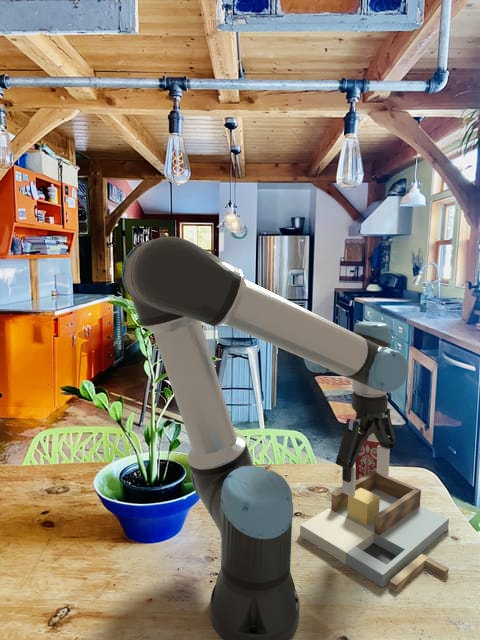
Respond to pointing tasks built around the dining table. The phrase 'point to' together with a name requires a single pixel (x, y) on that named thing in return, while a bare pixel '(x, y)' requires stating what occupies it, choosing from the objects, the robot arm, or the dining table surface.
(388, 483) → the cubby
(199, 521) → the dining table surface
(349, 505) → the block
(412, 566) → the crook tool
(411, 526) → the board
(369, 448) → the mug
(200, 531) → the dining table surface
